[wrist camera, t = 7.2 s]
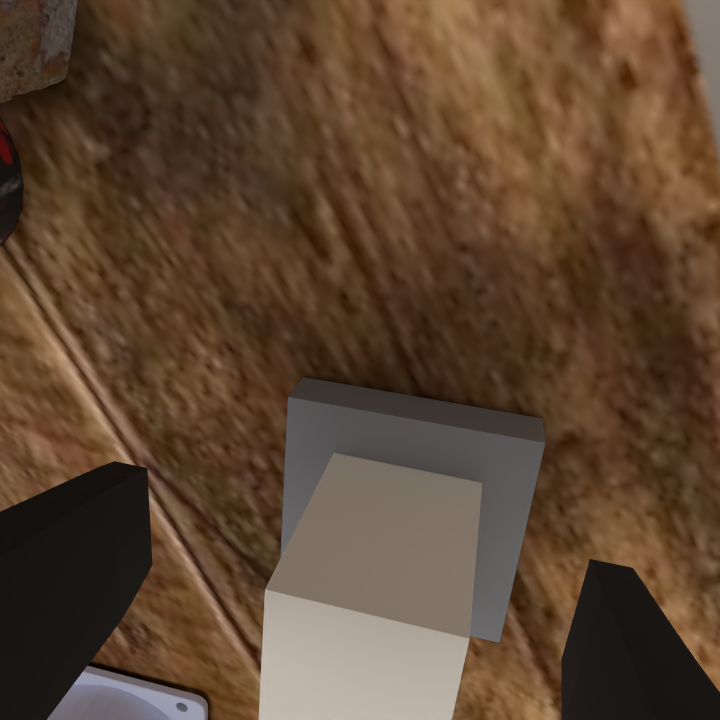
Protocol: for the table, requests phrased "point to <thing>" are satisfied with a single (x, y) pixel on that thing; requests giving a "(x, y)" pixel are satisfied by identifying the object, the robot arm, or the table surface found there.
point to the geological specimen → (34, 44)
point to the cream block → (372, 597)
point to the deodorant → (9, 185)
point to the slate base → (423, 467)
